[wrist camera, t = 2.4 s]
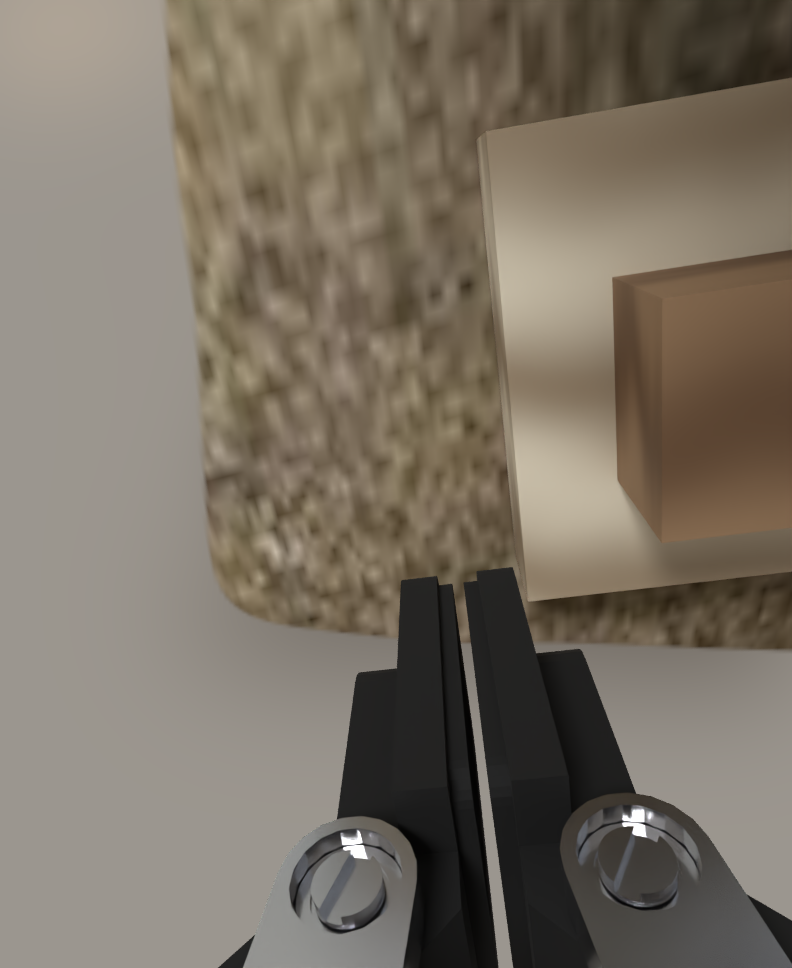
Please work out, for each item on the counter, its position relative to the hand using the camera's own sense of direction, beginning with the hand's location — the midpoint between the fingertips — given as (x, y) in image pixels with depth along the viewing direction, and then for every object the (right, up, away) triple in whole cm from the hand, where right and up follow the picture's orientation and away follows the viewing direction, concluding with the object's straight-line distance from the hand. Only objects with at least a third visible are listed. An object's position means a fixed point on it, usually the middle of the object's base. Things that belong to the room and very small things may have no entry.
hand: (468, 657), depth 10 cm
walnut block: (+8, +6, +9) cm, 13 cm away
